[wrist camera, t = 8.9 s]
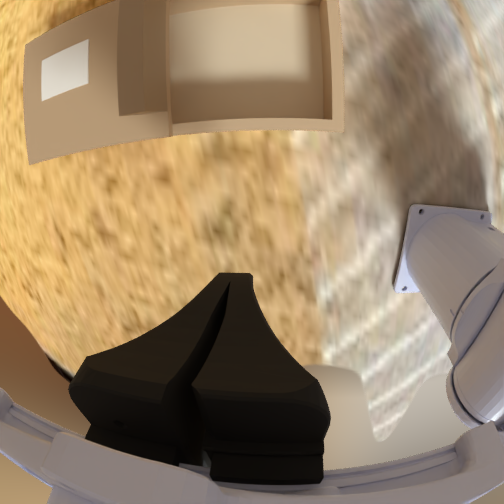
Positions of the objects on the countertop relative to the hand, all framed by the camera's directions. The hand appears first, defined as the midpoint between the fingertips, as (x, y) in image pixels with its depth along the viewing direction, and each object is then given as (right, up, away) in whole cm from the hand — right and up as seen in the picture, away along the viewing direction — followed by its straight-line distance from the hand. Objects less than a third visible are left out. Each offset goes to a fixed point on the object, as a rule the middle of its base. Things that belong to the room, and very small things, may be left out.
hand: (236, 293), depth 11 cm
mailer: (0, +14, +4) cm, 15 cm away
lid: (-10, +13, +2) cm, 16 cm away
